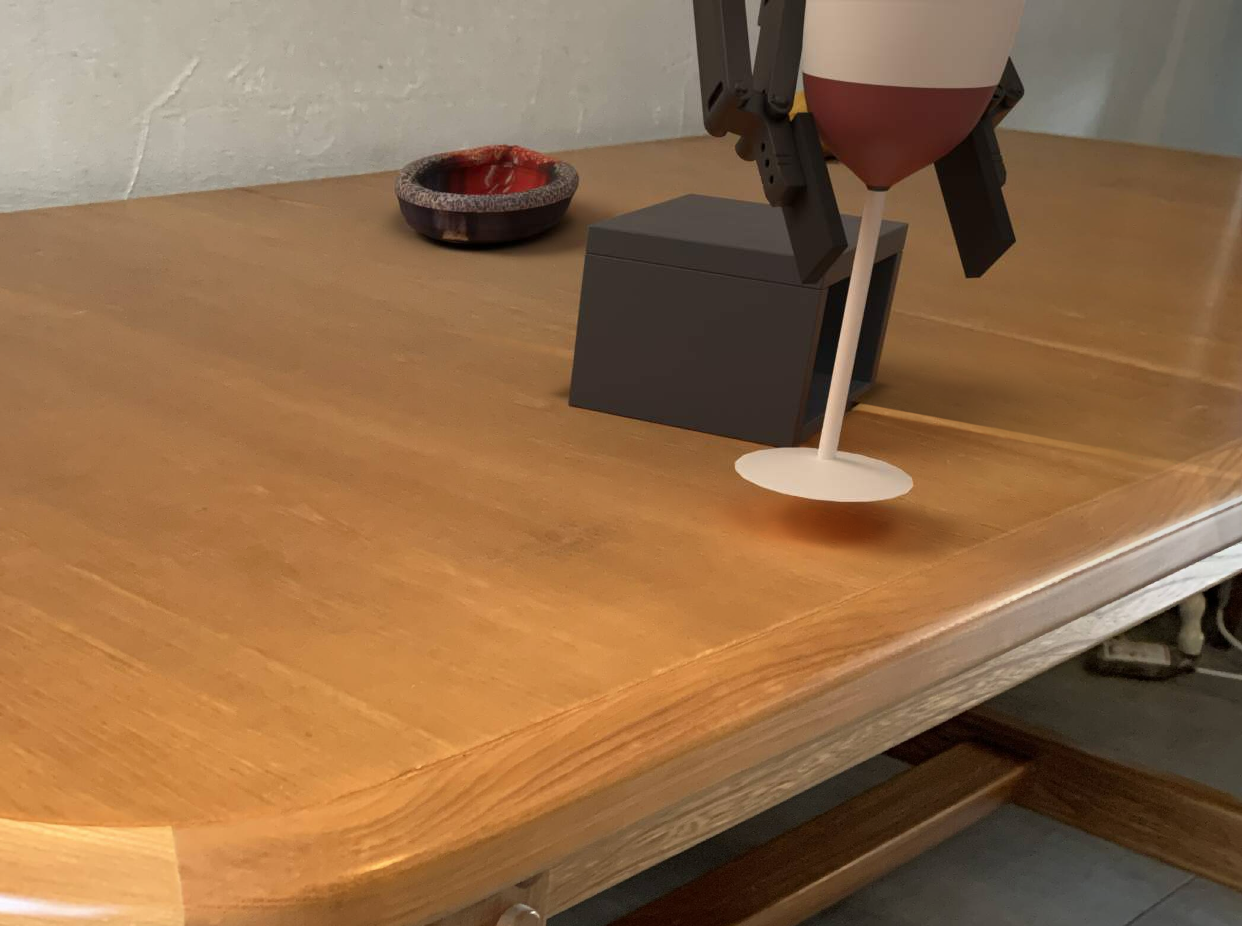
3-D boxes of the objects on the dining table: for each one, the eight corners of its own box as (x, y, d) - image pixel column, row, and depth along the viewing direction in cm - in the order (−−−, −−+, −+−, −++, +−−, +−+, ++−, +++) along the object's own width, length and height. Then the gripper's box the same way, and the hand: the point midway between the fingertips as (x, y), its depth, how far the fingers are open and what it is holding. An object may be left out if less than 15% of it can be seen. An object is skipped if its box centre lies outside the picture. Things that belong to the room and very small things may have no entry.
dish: (355, 245, 138) (357, 179, 136) (441, 189, 163) (444, 132, 160) (539, 263, 135) (546, 196, 132) (599, 204, 160) (605, 146, 157)
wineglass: (713, 489, 80) (802, -79, 67) (746, 435, 88) (831, -84, 75) (910, 517, 78) (1041, -68, 65) (926, 458, 85) (1045, -74, 73)
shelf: (873, 395, 105) (909, 223, 100) (791, 450, 94) (827, 260, 89) (666, 357, 111) (689, 193, 106) (567, 405, 100) (587, 224, 95)
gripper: (931, -105, 84) (1050, 304, 81) (554, -119, 79) (663, 320, 75) (1025, -238, 77) (1159, 204, 74) (617, -264, 72) (741, 213, 68)
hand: (909, 262), depth 74 cm, fingers closed on wineglass, 8 cm apart
